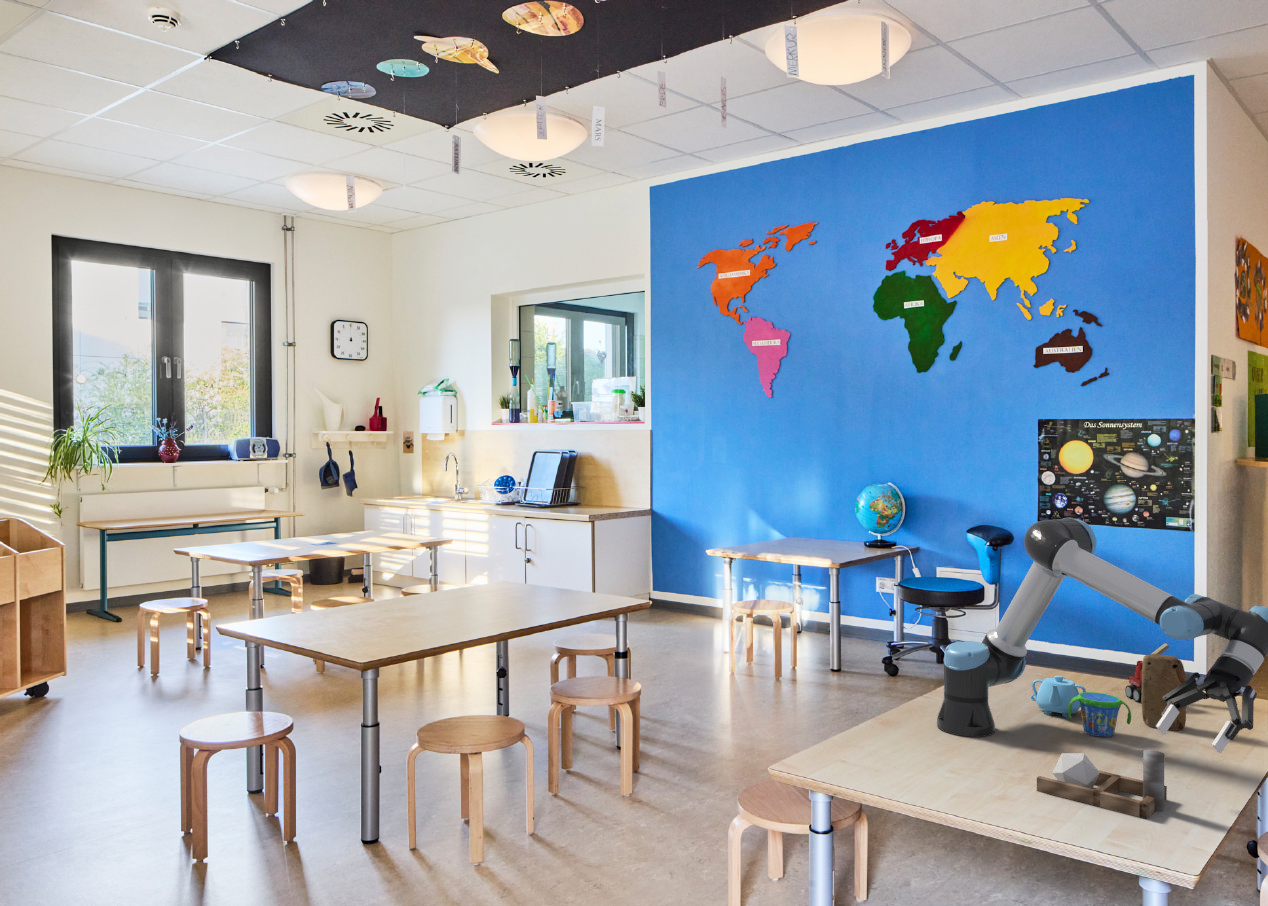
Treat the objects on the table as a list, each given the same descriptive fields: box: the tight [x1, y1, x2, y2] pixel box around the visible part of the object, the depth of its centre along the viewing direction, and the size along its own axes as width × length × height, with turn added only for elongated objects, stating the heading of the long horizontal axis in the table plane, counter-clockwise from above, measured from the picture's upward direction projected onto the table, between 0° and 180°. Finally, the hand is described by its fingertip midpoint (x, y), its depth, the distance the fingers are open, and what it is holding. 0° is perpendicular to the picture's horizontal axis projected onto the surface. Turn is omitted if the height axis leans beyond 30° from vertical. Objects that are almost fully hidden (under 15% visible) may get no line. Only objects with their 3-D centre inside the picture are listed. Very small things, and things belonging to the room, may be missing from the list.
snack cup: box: [1068, 691, 1132, 738], centre depth 255 cm, size 16×10×10 cm
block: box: [1140, 653, 1187, 731], centre depth 262 cm, size 11×8×20 cm
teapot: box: [1030, 675, 1087, 719], centre depth 274 cm, size 13×14×11 cm
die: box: [1052, 752, 1100, 789], centre depth 213 cm, size 8×9×10 cm
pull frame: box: [1036, 749, 1168, 820], centre depth 209 cm, size 24×15×12 cm, turn 46°
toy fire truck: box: [1124, 643, 1170, 703], centre depth 287 cm, size 11×16×18 cm
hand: (1187, 739), depth 205 cm, fingers open, 13 cm apart
